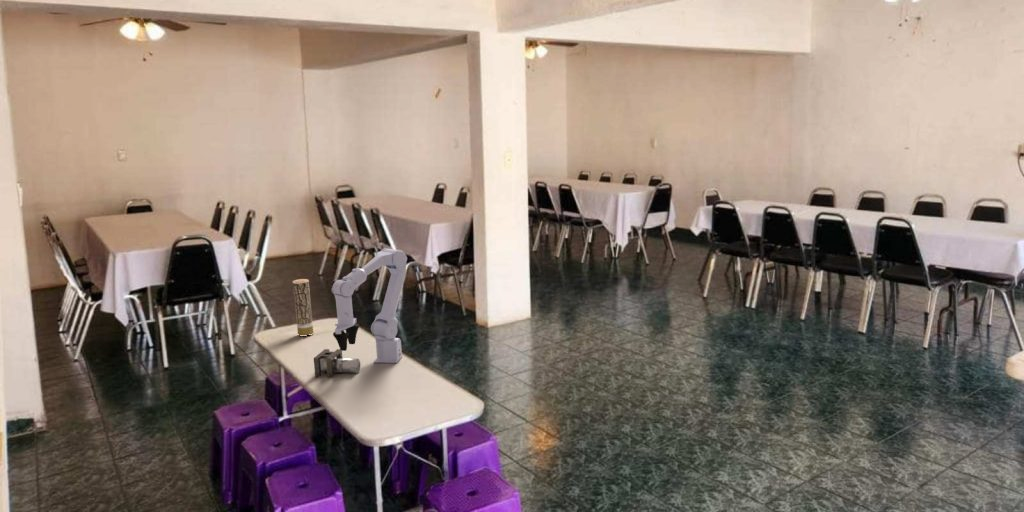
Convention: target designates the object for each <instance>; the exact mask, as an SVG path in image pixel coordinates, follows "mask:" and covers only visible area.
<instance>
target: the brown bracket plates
mask: <svg viewBox="0 0 1024 512" xmlns="http://www.w3.org/2000/svg"><path fill="white" fill-rule="evenodd" d="M321 358H326V360H327V371H328V372H327V378H332V379H333V378H335V372H334V366H333V359H334V358H337V359H344V358H343V351H341V350H340V348H337V349H335V350H334V351H330V348H326V349H325V348H324V349H323V350H322V351H321V352H319V353H318V354H317V355H316V356H314V357H313V368H314V377H315V378H321V377H322V376H323V375H322V372H321V364H320V359H321Z"/></svg>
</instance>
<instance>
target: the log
mask: <svg viewBox="0 0 1024 512" xmlns="http://www.w3.org/2000/svg"><path fill="white" fill-rule="evenodd" d="M292 288H293V300H294V308H295V309H294V310H295V319H296V320H295V321H296V328H297V329H296V330H297V335H298V334H299V335H309V334H312V333H313V334H314V324H313V322H314V321H313V314H312V313H313V312H312V311H313V310H312V301H311V291H310V280H309V278H299V279H295V280H292ZM313 334H312V335H313ZM299 335H298V336H299Z"/></svg>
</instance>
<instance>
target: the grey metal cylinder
mask: <svg viewBox="0 0 1024 512" xmlns="http://www.w3.org/2000/svg"><path fill="white" fill-rule="evenodd" d="M320 364H321V373H328V371H327V360H326V358H321V359H320ZM333 366H334V373H341V374H342V373H344V374H345V373H347V374H352V373H354V374H356V373H357V374H358V373H360V370H361V359H360V358H346V357H345V358H343V359H337V358H336V357H335V358H334V359H333Z"/></svg>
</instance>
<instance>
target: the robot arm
mask: <svg viewBox="0 0 1024 512" xmlns="http://www.w3.org/2000/svg"><path fill="white" fill-rule="evenodd" d="M407 261H408V257H407V254H406V253H405V252H404V251H403V250H402V249H393V248H387V247H384V248H382V249H381V250H380V251H378V252H377V254H376V255H375V256H374V257H373V258H372V259H371V260H370V261H369V262H367V263H366V264H365V265H364V266H363V267H362V268H360V267H356V268H352V269H351V272H350V273H348V274H347V275H346V276H343V277H342V279H337V280H335V282H334V283H332V284H333V285H332V288H331V289H330V290H331V293H332V294H333V295H334V298H335V305H336V307H335V308H336V317H337V322H336V323H335V324H334V326H335V329H334V332H333V334H332V335H333V337H334V338H335V340H336V342H337V344H338V346H339V349H340V350H341V351H342V352H344V351H347V349H348V344H349V345H355V344H356V339H357V333H358V330H359V328H360V324H359V323H357V317H354V310H353V299H352V296H353V294H354V292H355V289H357V288H358V287H359V286H360V285H362V284H363V283H365V282H366V281H367V276H369V275H370V274H372V273H373V272H375V271H376V270H377V269H379V268H381V267H383V266H384V267H386V268H387V269H388V271H389V273H390V277H389V280H388V285H387V289H386V292H385V296H384V299H383V304H382V307H381V311H380V312H379V313H378V314H377V315H376V316H375V317H374V321H373V322H372V323H371V326H370V331H371V334H372V335H374V338H375V348H376V349H375V350H376V358H375V359H374V361H373V363H379V364H380V363H381V364H382V363H384V364H385V363H389V364H390V363H391V364H395V363H398V362H399V361H400V360H401V359H402V358H403V353H402V340H401V338H399V337H396V336H397V335H398V323H399V321H398V319H397V317H396V312H397V308H398V305H399V301H400V298H401V293H402V290H403V285H404V282H405V278H406V274H407V267H406V265H407Z"/></svg>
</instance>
